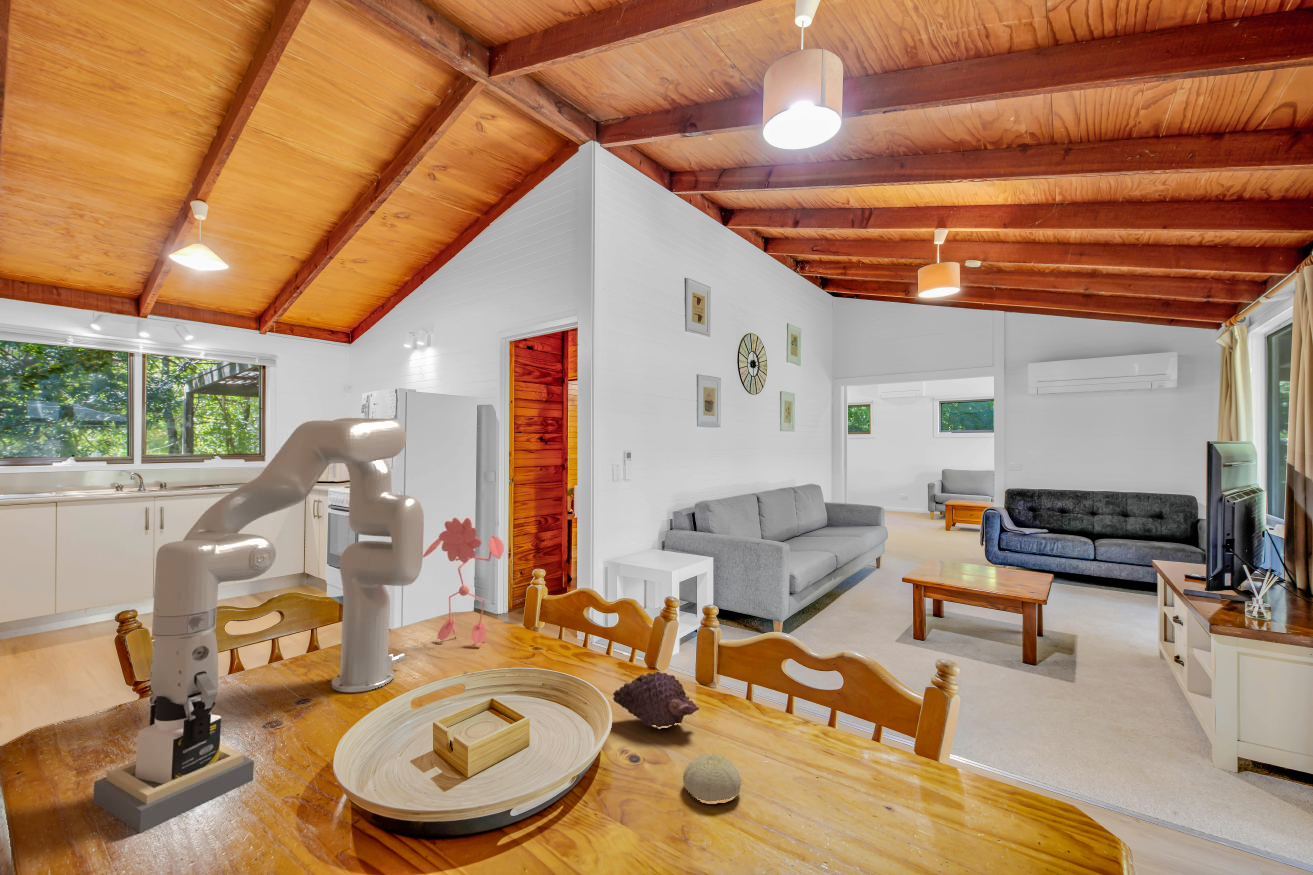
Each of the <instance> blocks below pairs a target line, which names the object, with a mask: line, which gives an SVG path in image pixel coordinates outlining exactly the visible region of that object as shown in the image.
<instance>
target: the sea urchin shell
mask: <svg viewBox="0 0 1313 875" xmlns="http://www.w3.org/2000/svg"><path fill="white" fill-rule="evenodd" d="M741 781H742V780H741V776H740V773H739V771H738V769H737V768H736V766H735V765H734V763H733V762H732V761H731V760H730V759H729V758H727V757H724V756H723V755H721V754H715V753H704V754H701V755H698V756H697V757H696V758H694V759H693V760H691V761H690V762H689V763H688V765H687V766H686V767H685V769H684V771H683V775H682V783H684V784H683V786H684V785H685V786H684V788H685V787H686V788H685V789H686V791H687V790H688V791H689V792H690V793H691V794H692V795H693V796H695V797H697V798H698V799H701V800H705V801H717V800H719V801H720V800H724V799H725V800H726V799H730V798H732V797H734V796H736V795H737V794H738V793H739V794H740V791H741V788H740V787H741V786H742V782H741ZM689 792H688V793H689ZM691 794H690V795H691ZM739 794H738V795H739ZM692 795H691V796H692ZM693 796H692V797H693Z"/></svg>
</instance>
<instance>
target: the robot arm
mask: <svg viewBox="0 0 1313 875" xmlns="http://www.w3.org/2000/svg"><path fill="white" fill-rule="evenodd" d="M406 443H407V433H406V430H405V428H404V426H403V425H402V424H401V423H400V422H399V421H397V420H396V419H393V418H372V417H370V418H368V417H367V418H366V417H365V418H364V417H342V418H336V419H333V420H322V419H321V420H311V421H306V422H303V423H301V424H300V425H299V426H297V427H296V428H295V429H294V431H293V432H292V433H291V434H290V436H289V437H288V439H286V441H285V442H284V444H283V445H282V446H281V448H280V449H279V450H278V452H277V453H276V454H275V455H274V457H273V458H272V459H271V460H270V462H269V463H268V464H267V465H266V467H265V468H264V469H263V470H262V472H261V473H260V475H258V476H257V477H256V478H254V479H253V480H250V481H249V482H247V483H245V484H243V485H242V486H240V487H238V488H237V489H235V490H233V491H232V492H230V493H229V494H227V495H225V496H224V497H222V498H221V499H219V500H218V501H216V502H214V504H212V505H211V506H210V507H209V508H208V509H207V510H205V511H204V513H203V514H202V515H200V518H199V519H197V521H196V522H195V523H194V525H193V526H191V528H190V530H189V531H188V532H187V533H186V535H185V536H184V537H183V540H177V541H176V540H175V541H172V542H168V543H165V544H163V545H161V546H159V548H158V549H157V552H156V557H155V558H156V559H155V574H154V591H153V592H154V593H153V609H152V610H153V611H152V626H151V627H152V628H151V637H152V639H154V644H153V650H152V657H151V666H150V670H149V672H148V675H149V680H150V684H149V687H148V689H149V691H150V692H151V695H150V697H149V703H150V712H149V726H151V725H153V724H155V709H156V699H157V698H158V697H159V696H163V697H166V698H167V699H169V700H170V701H171V702H174V703H177V704H180V705H183V706H184V709H185V712H186V715H187V719H186V720H184V727H183V747H185V748H188V747H190V746H193V745H195V744H198V743H201V742H203V741H206V740H208V739H209V737H210V723H211V714H213V713H214V707H215V705H216V699H217V696H218V691H219V690H218V689H219V650H218V642H217V634H216V631H215V630H216V628H217V613H218V612H217V611H218V592H219V584H221V583H225V582H238V581H248V580H252V579H255V578H257V577H259V576H262V575H263V574H265V573H266V572H267V571H268V570H270V569H271V567H272V566H273V564H274V563H275V559H276V554H277V553H276V547H275V546H274V544H273V542H272V541H270V540H269V539H268V538H267V537H264V536H261V535H258V534H251V533H239V532H241V530H242V529H244V528H245V527H246V526H248V525H249V524H251V523H253V522H255V521H256V520H258V519H261V518H262V517H264V516H267V515H270V514H272V513H276V512H279V511H283V510H285V509H288V508H291V507H293V506H296V505H298V504H301V503H302V502H303V501H304V500H306V499H307V498H308V496H309V495H310V493H311V492H312V490H313V488H314V487H315V486H316V484H317V483H318V482H319V480H320V478H321V477H322V476H323V474H324V473H325V471H326V470H327V468H328V466H329V465H331V464H344V465H345V467H346V468H347V472H348V476H349V500H348V501H349V502H348V503H349V504H348V522H349V527H350V529H351V531H352V532H354V533H355V534H357V535H362V536H371V537H385V538H386V537H388V538H391V541H383V540H381V541H379V540H361V541H357V542H354V543H351V544H350V545H348V546H346V548H345V549H344V550H343V552H342V554H341V555H340V558H339V559H340V560H339V573H340V577H341V578H340V579H341V585H342V595H343V596H342V597H343V599H342V600H343V602H342V603H343V604H342V619H341V620H342V623H341V644H340V645H341V646H340V647H341V649H340V666H339V668H340V672H339V674H337V675H335V676H334V677H333V678H332V680H331V688H332V689H333V690H335V691H337V692H340V693H361V692H368V691H372V689H373V690H376V689H379V688H381V686H382V687H385V686H386V685H388V684H390V683H391V682H392V681H393V680H394V679H395V670H394V669H392V667H394V666H395V664H398V663H399V664H400V663H401V662H404V661H405V660H406V654H405V653H404V652H401V653H397V654H395V655H394V654H392V653H389V641H390V638H389V636H390V635H389V634H390V617H391V616H390V612H391V599H390V595H389V593H388V590H387V588H386V586H392V587H395V586H396V587H405V586H410V585H411V584H414V582H416V581H417V579H418V578H419V576H420V574H421V571H422V569H423V568H422V567H423V556H424V531H425V530H424V529H425V528H424V527H425V526H424V522H425V521H424V520H425V519H424V511H423V510H424V509H423V507H422V504H421V503H420V501H419V500H418V499H417V498H415V497H414V496H411V495H408V494H407V495H406V494H393V492H392V490H393V489H392V471H391V467H390V465H389V463H388V461H387V459H391V458H394V457H396V456H398V455H399V454H400V453H401V452H402V451H403V450H404V448H405V447H406ZM393 678H394V679H393ZM392 679H393V680H392ZM391 680H392V681H391ZM390 681H391V682H390ZM389 682H390V683H389ZM387 683H388V684H387ZM385 684H386V685H385ZM378 687H379V688H378ZM375 688H376V689H375ZM199 692H200V694H199V695H196V696H193V697H190V698H189V697H188V696H191V695H194V694H197V693H199ZM200 700H201V703H199V704H198V705H197V706H196V708H195V709H194V708H193V705H192V703H194V702H197V701H200Z"/></svg>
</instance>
